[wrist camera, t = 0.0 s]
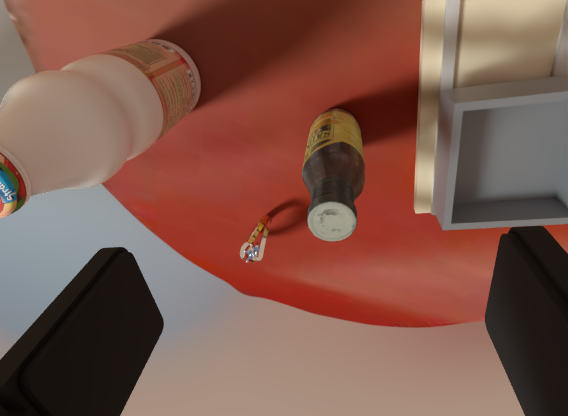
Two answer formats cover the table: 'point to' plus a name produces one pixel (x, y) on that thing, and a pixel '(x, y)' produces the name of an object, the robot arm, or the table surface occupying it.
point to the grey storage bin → (502, 155)
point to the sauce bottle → (333, 174)
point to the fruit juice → (90, 118)
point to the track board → (480, 60)
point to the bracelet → (249, 248)
